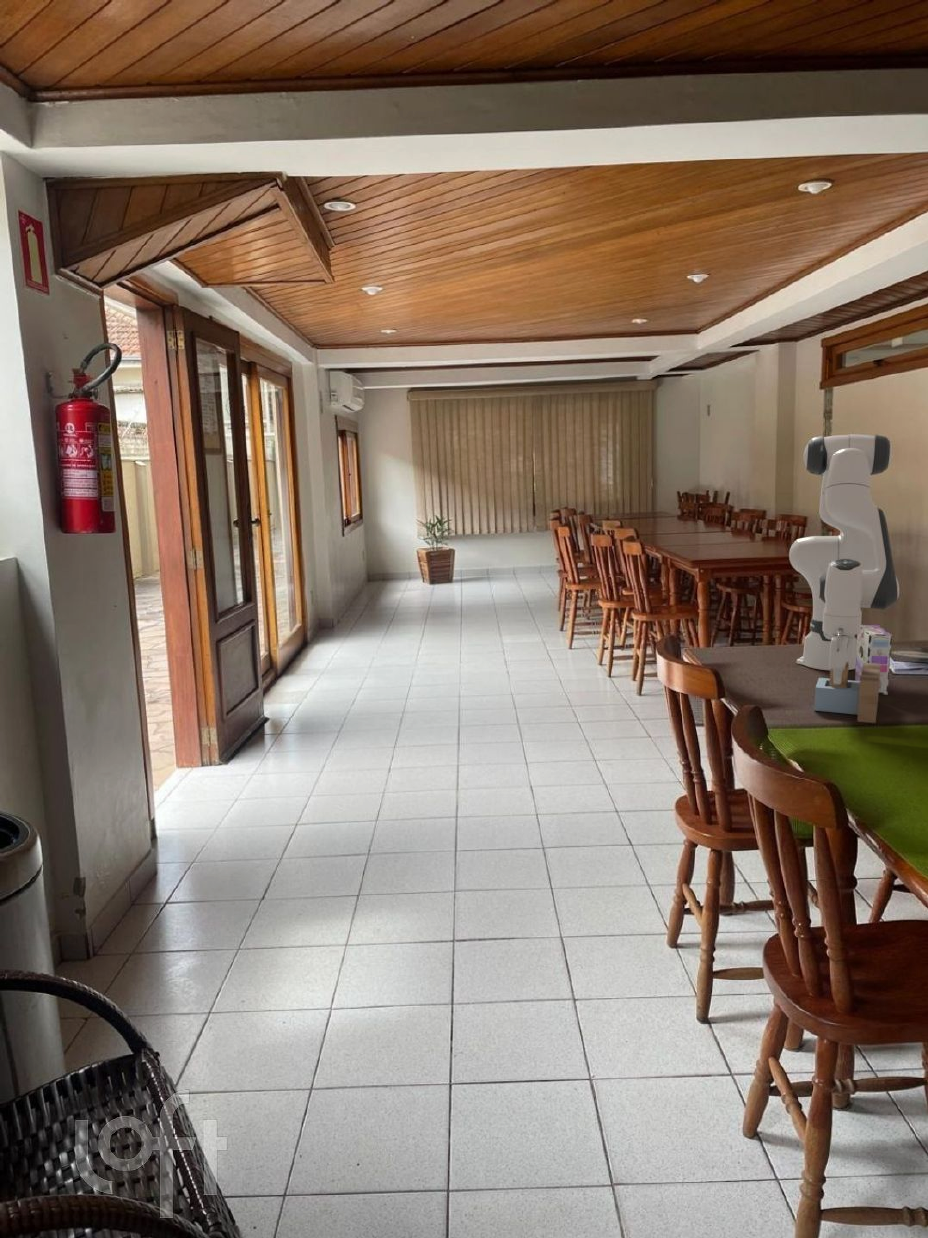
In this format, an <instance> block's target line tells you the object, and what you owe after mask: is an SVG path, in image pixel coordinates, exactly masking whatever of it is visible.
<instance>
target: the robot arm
mask: <svg viewBox="0 0 928 1238" xmlns="http://www.w3.org/2000/svg"><path fill="white" fill-rule="evenodd" d="M802 457H803V462H804V466H805V469H806V471H808V472H809V474H812V475H815V476H822V480H821V487H820V497H819V512H818V513H819V517H820V519H821V520H822V521H823V522H824V523H825V524H827V526H830V527H832V528H835V529H837V530H839V535H812V536H806V537H801V538H797V539H796V540H795V541H794V542H793V543H792V544H791V546H790V548H789V553H788V557H789V562H790V565H791V566H792V568H793V569H794V570H795V571H796V572H798V573H799V574H801V575H802V576H803V578H804V579H805V580H806V581H807V583H808V585H809V588H810V589H811V590H810V591H811V595H812V617H811V619H810V627H809V629H810V632H809V633H808V634H807V635H806V636H805V637H804V643H803V655H802V656H801V657H799V658H797V659H796V664H799V665H803V666H806V667H807V668H811V669H817V670H823V671H830V669H833V677H834V678H833V683H834V684H841V680H842V671H843V670H844V669H845V667H846V663H847V662H849V666H848V671H850V670H852V671H853V670H856V650H857V637H856V636H857V634H860V633H861V625H862V614H863V612H862V608H865V609H867V608H868V609H873V610H880V611H885V610H887V609H889V608H890V607H892V606H893V605H894V604H896V603H897V602H898V598H899V595H900V584H899V580H898V578H897V575H896V570H895V566H894V559H893V554H892V547H891V539H890V534H889V530H888V529H889V528H888V524H887V519H886V515H885V513H884V511H883V509H881V508H879V507H877V506H876V504H875V503H874V501H873V497H872V476H875V475H879V474H883V473H884V472H885V471H886V470H888V468H889V466H890V463H891V461H892V459H893V448H892V445H891V442H890V440H889V438H888V437H886V436H883V435H878V434H874V435H870V434H856V433H854V434H853V433H849V434H838V435H830V436H829V435H828V436H823V435H821V436H820V435H819V436H815V437H813V438H811V439H809V441H807V444H806V446H805V447H804V451H803V456H802Z"/></svg>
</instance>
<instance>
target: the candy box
mask: <svg viewBox="0 0 928 1238" xmlns="http://www.w3.org/2000/svg"><path fill="white" fill-rule="evenodd" d="M856 639H857V650H856V669H854V670H855V672H854V673H855V674H854V681H860V677H861V673H862V668H863V663H864V662H865V663H878V664H880V680H879V695H886V696H887V695H888V694H889V680H890V667H891V654H892V653H891V652H892V639H893V635H892V634H891V633H890V632H888V631H886V630H885V629H884V628H883V627H881V625H880V624H879V625H878V624H861V633H860V634H857V635H856Z"/></svg>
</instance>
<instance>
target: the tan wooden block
mask: <svg viewBox="0 0 928 1238" xmlns="http://www.w3.org/2000/svg"><path fill="white" fill-rule="evenodd" d="M848 666H849V662H847V663H846V667H845V669H844V670H843V671H842V680H841V684H834V683H833V678H834V677H833V669H830V670H829V679H830V682H829V687H841V688H847V683H848V680H849V670H848Z"/></svg>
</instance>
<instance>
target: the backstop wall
mask: <svg viewBox="0 0 928 1238" xmlns="http://www.w3.org/2000/svg"><path fill="white" fill-rule="evenodd" d="M879 680H880V664H878V663H865V662H864V663H863V668H862V673H861V677H860V685H859V701H858V715H857V719H856V721H857V722H860V723H862V722H863V723H868V724H869V723H872V724H876V722H877V713H878V704H879V696H880V694H879Z"/></svg>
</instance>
